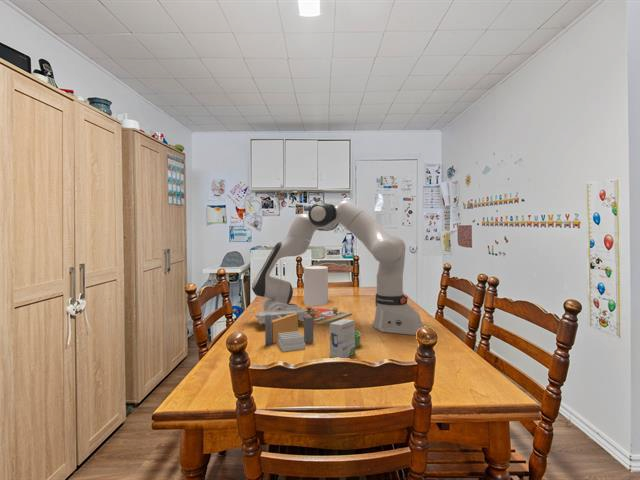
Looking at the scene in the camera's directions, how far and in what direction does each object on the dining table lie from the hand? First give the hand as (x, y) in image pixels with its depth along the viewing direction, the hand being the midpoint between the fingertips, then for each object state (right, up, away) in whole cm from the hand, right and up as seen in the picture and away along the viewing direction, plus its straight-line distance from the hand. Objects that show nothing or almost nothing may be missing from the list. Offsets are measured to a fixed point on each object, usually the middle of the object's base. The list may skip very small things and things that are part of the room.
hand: (285, 320), depth 151 cm
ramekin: (+24, -7, -13) cm, 28 cm away
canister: (+12, -3, +59) cm, 60 cm away
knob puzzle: (+10, -5, +30) cm, 33 cm away
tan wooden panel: (0, -5, -8) cm, 10 cm away
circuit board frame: (+2, -6, -13) cm, 15 cm away
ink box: (+21, -7, -24) cm, 33 cm away
